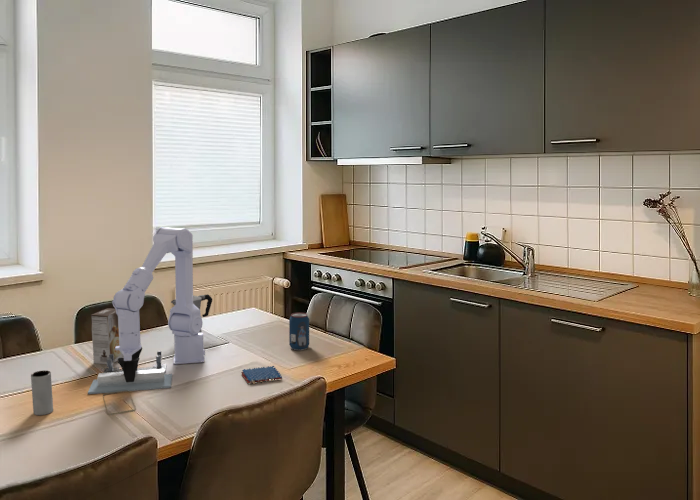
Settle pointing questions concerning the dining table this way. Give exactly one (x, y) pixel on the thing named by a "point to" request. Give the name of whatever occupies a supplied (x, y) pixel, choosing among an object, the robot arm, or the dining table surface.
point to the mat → (130, 386)
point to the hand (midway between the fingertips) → (131, 377)
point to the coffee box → (105, 335)
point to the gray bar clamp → (158, 366)
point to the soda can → (299, 331)
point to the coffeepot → (197, 303)
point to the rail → (140, 378)
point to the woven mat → (261, 374)
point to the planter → (42, 392)
